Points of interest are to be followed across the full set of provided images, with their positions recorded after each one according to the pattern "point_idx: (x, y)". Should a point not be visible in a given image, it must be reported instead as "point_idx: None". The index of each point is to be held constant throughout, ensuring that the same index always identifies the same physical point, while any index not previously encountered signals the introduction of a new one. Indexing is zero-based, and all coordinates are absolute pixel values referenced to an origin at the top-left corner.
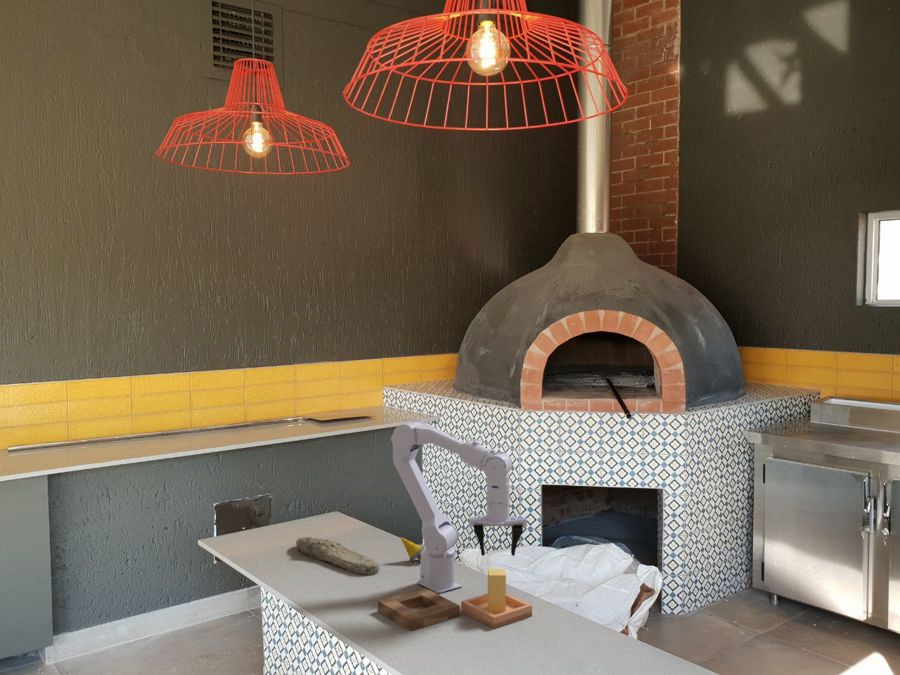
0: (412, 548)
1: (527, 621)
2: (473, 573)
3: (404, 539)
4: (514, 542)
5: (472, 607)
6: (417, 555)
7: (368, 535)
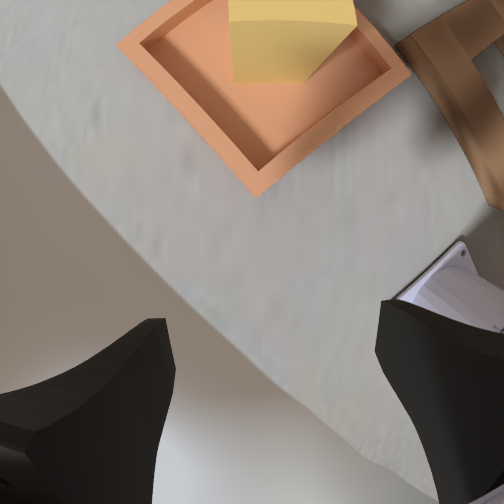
0: None
1: (152, 12)
2: (330, 417)
3: None
4: (105, 365)
5: (365, 19)
6: None
7: None
